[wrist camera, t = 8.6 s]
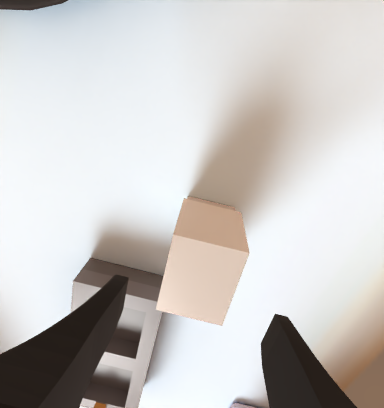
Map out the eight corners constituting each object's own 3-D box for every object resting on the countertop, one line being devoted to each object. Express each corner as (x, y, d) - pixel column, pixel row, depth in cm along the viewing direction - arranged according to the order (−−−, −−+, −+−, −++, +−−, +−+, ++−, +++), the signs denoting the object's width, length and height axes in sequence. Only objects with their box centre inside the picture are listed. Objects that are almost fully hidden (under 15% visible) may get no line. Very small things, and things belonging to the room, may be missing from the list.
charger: (239, 203, 20) (249, 253, 14) (220, 260, 22) (222, 325, 16) (186, 190, 20) (173, 234, 14) (172, 248, 22) (155, 309, 16)
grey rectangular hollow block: (170, 277, 23) (163, 309, 20) (142, 387, 29) (133, 426, 26) (90, 258, 23) (68, 286, 19) (78, 372, 29) (60, 408, 25)
